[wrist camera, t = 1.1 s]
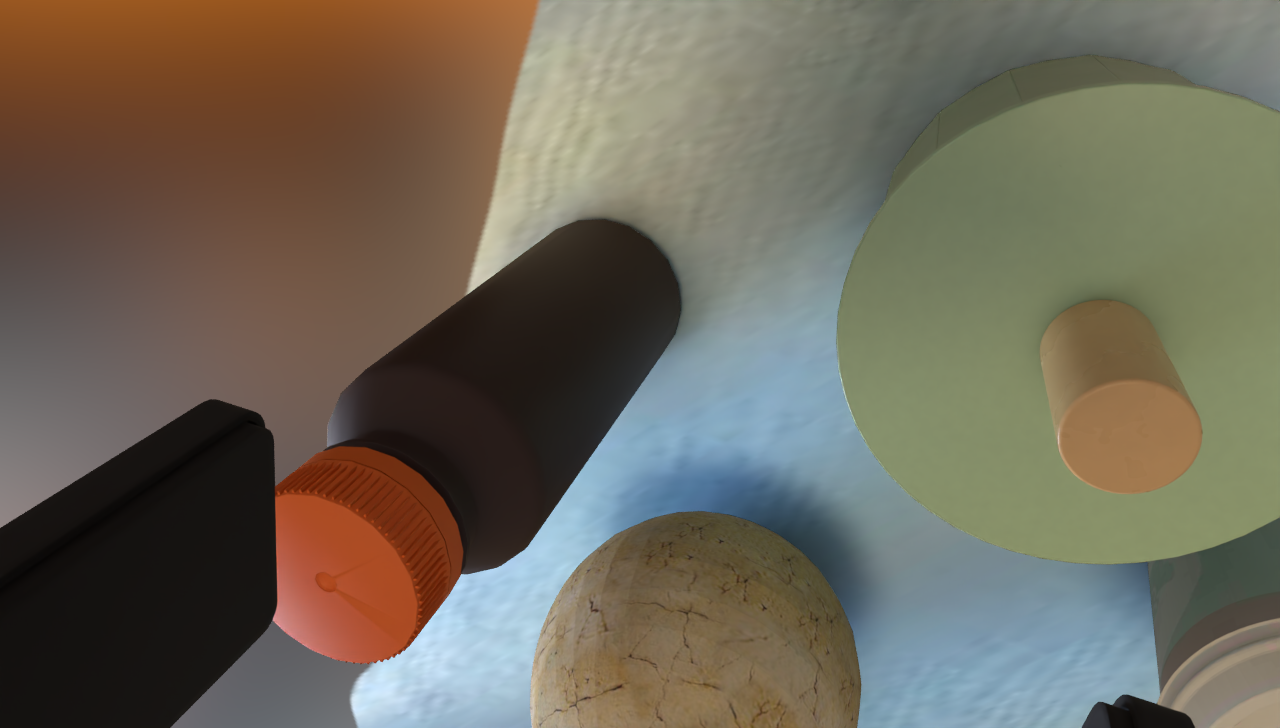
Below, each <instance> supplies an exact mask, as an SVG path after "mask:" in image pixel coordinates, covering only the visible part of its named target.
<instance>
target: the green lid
mask: <svg viewBox="0 0 1280 728" xmlns="http://www.w3.org/2000/svg"><path fill="white" fill-rule="evenodd" d="M836 346H837V357H838V369H839V374H840V378H841V383H842V387H843V391H844V396H845V399H846V402H847V404H848V407H849V409H850V412H851V415H852V417H853V420H854V422H855V425H856V426H857V428H858V430H859V432H860V434H861V435H862V437H863V439H864V441H865V443H866V444H867V446H868V448H869V450H870V451H871V452H872V454H873V455H874V456H875V458H876V459H877V460H878V462H879V463H880V464H881V466H882V467H883V468H884V470H885V471H886V472H887V473H888V474H889V475H890V476H891V477H892V478H893V479H894V480H895V481H896V483H897V484H898V485H899V486H900V487H901V488H902V489H903V490H904V491H905V492H906V493H907V494H909V495H910V496H911V497H912V498H914V499H915V500H916V501H917V502H918V503H920V504H921V505H922V506H923V507H925V508H926V509H927V510H928V511H930V512H931V513H933V514H935V515H936V516H938V517H939V518H941V519H942V520H944V521H946V522H947V523H949V524H950V525H952V526H954V527H955V528H957V529H959V530H962V531H964V532H966V533H968V534H970V535H972V536H974V537H976V538H978V539H980V540H982V541H985V542H988V543H991V544H993V545H996V546H999V547H1002V548H1005V549H1007V550H1010V551H1014V552H1018V553H1022V554H1026V555H1030V556H1034V557H1038V558H1042V559H1049V560H1056V561H1063V562H1071V563H1084V564H1125V563H1141V562H1149V561H1155V560H1161V559H1167V558H1173V557H1179V556H1183V555H1186V554H1190V553H1194V552H1198V551H1201V550H1205V549H1209V548H1212V547H1215V546H1218V545H1220V544H1223V543H1225V542H1228V541H1231V540H1233V539H1236V538H1239V537H1241V536H1244V535H1246V534H1248V533H1250V532H1252V531H1254V530H1256V529H1258V528H1260V527H1262V526H1264V525H1266V524H1268V523H1270V522H1272V521H1274V520H1276V519H1278V518H1279V517H1280V112H1279V111H1277V110H1274V109H1272V108H1269V107H1267V106H1265V105H1262V104H1260V103H1258V102H1255V101H1253V100H1250V99H1248V98H1246V97H1243V96H1239V95H1236V94H1232V93H1228V92H1224V91H1221V90H1217V89H1213V88H1209V87H1206V86H1200V85H1192V84H1184V83H1177V82H1169V81H1114V82H1105V83H1096V84H1088V85H1080V86H1076V87H1072V88H1068V89H1063V90H1059V91H1055V92H1051V93H1047V94H1043V95H1040V96H1037V97H1034V98H1031V99H1029V100H1026V101H1023V102H1021V103H1018V104H1015V105H1012V106H1010V107H1007V108H1004V109H1002V110H1000V111H998V112H996V113H994V114H992V115H990V116H989V117H987V118H985V119H983V120H981V121H979V122H977V123H975V124H973V125H971V126H969V127H968V128H966V129H965V130H963V131H962V132H960V133H959V134H957V135H956V136H954V137H953V138H951V139H950V140H948V141H947V142H945V143H944V144H942V145H941V146H939V147H938V148H937V149H936V150H935V151H933V152H932V153H931V154H930V155H929V156H928V157H926V158H925V159H924V160H923V161H922V162H921V163H919V164H918V165H917V166H916V167H915V168H914V169H912V170H911V172H910V173H909V174H908V175H907V176H906V177H905V178H904V179H903V180H902V181H901V183H900V184H899V185H898V186H897V187H896V188H895V189H894V190H893V191H892V192H891V194H890V195H889V196H888V197H887V199H886V200H885V202H884V203H883V204H882V206H881V207H880V209H879V210H878V212H877V213H876V215H875V216H874V217H873V219H872V220H871V222H870V223H869V225H868V227H867V229H866V231H865V233H864V235H863V237H862V239H861V241H860V243H859V245H858V247H857V249H856V251H855V253H854V256H853V259H852V262H851V265H850V267H849V270H848V273H847V276H846V279H845V282H844V285H843V290H842V295H841V300H840V305H839V310H838V320H837V337H836Z"/></svg>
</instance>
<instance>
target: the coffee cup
mask: <svg viewBox="0 0 1280 728" xmlns="http://www.w3.org/2000/svg"><path fill="white" fill-rule="evenodd" d="M1148 574H1149V584H1150V594H1151V604H1152V614H1153V624H1154V635H1155V645H1156V655H1157V665H1158V675H1159V685H1160V697H1159V700H1158V703H1157V704H1158V705H1161V706H1164V707H1167V708H1170V709H1173V710H1177V711H1180V712H1183V713H1185V714H1187V715H1188V716H1189V717H1190V718H1191V720H1192V722H1193V724H1194V726H1195V728H1280V517H1279V518H1278V519H1276V520H1274V521H1272V522H1270V523H1268V524H1266V525H1264V526H1262V527H1260V528H1258V529H1256V530H1254V531H1252V532H1250V533H1248V534H1246V535H1244V536H1241V537H1239V538H1236V539H1233V540H1231V541H1228V542H1225V543H1223V544H1220V545H1218V546H1215V547H1212V548H1209V549H1205V550H1201V551H1198V552H1194V553H1190V554H1186V555H1183V556H1179V557H1173V558H1167V559H1161V560H1155V561H1149V562H1148Z"/></svg>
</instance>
